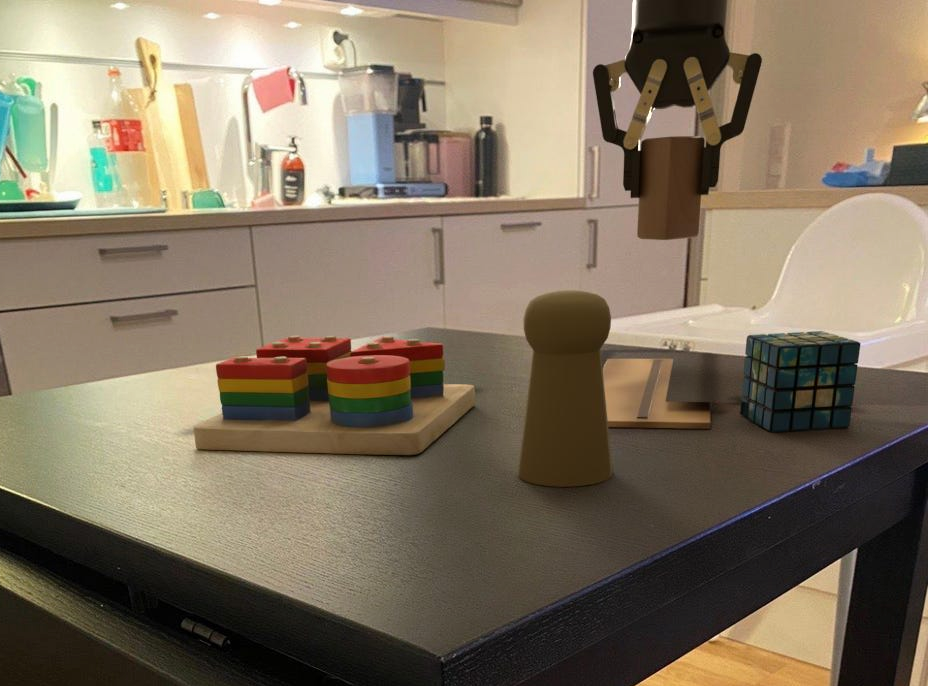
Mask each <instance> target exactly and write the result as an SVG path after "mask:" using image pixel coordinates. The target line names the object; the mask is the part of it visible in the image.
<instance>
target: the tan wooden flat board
mask: <svg viewBox="0 0 928 686" xmlns="http://www.w3.org/2000/svg"><path fill="white" fill-rule="evenodd" d="M673 363H674V358H607V359H606V361H605V363H604V365H603V366H602V369H603V379H604V389H605V399H606V409H607V419H608V428H624V429H625V428H627V429H628V428H629V429H630V428H633V429H634V428H635V429H683V430H684V429H685V430H686V429H689V430H697V429H698V430H710V429H711V423H712V419H711V401H667V395H668V391H669V384H670V380H671V375H672V368H673Z"/></svg>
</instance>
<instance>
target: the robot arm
mask: <svg viewBox="0 0 928 686" xmlns="http://www.w3.org/2000/svg"><path fill="white" fill-rule="evenodd" d="M727 13H728V0H632V15H631V40H630V45H629V48H628V51H627V52H626V55H625V57H624V59H621V60H618V61H615V62H612V63H608V64H601V63H599V64H597V65H595V66H594V68H593V70H592V76H593V84H594V90H595V97H596V103H597V108H598V115H599V121H600V127H601V135H602V139H603V140H604V142H606V143H609V144H613V145H615V146H618V147H620V148H621V149H622V152H623V174H622V175H623V176H622V177H623V178H622V186H623V188H624V191H625V192H630V199H639V188H640V164H641V142H642V139H643V136H644V133H645V132H646V129H647V126H648V124H649V122H650V120H651V118H652V115H653V112H654V110H666V109H668V108H671V107H679V108H683V109H685V108H686V109H687V108H694V107H695V109H696V112H697V114H698V115H697V116H698V118H699V121H700V124H701V127H702V128H701V129H702V131H703V134H704V137H705V146H704V149H703V164H702V179H701V196H710V188H716V187H717V184H718V182H719V175H720V174H719V173H720V161H721V148H722V146H723V144H724V143H726V142H728V141H730V140H731V139H734V138H736V137H739V136H741V134H743V132H744V130H745V126H746V122H747V119H748V116H749V112H750V108H751V104H752V100H753V96H754V93H755V90H756V86H757V82H758V78H759V74H760V70H761V67H762V64H763V63H762V62H763V58H762V56H761V54H759V53H757V52H753V53H751V54H743V53H737V52H732V51H730V48H729V46H728V43H727V40H726V29H727V27H726V26H727ZM727 67H728V68H730V69H731V72H732V75H731V76H732V81H733V83H734V84H736V85H739V87H738V92H737V95H736V99H735V103H734V108H733V111H732V116H731V118H730V122H727V123H725V124H723V125H720V126H719V123H718V120H717V117H716V114H715V109H714V106H713V103H712V100H711V97H710V94H709V93H710V91H711V89H712V88H713V87H714V85H715V84H716V82H717V81H718V79H719V78H720V76H722V74H723V72H724V70H725V69H726V68H727ZM625 74H627V75H628V77H629V78H630V80H631V82H632V83H633V85H634V86H635V88H636V89H637V91H638V93H639V94H640V96H639V98H638V101H637V104H636V106H635V108H634V111H633V114H632V118H631V120H630V122H629V125H628V128H627V131H626V130H623V129H620V128H619V124H618V118H617V110H616V105H615V104H616V103H615V98H614V93H615V92H618V90H619V89H620V87H621V79H622V77H623V76H624V75H625Z"/></svg>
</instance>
